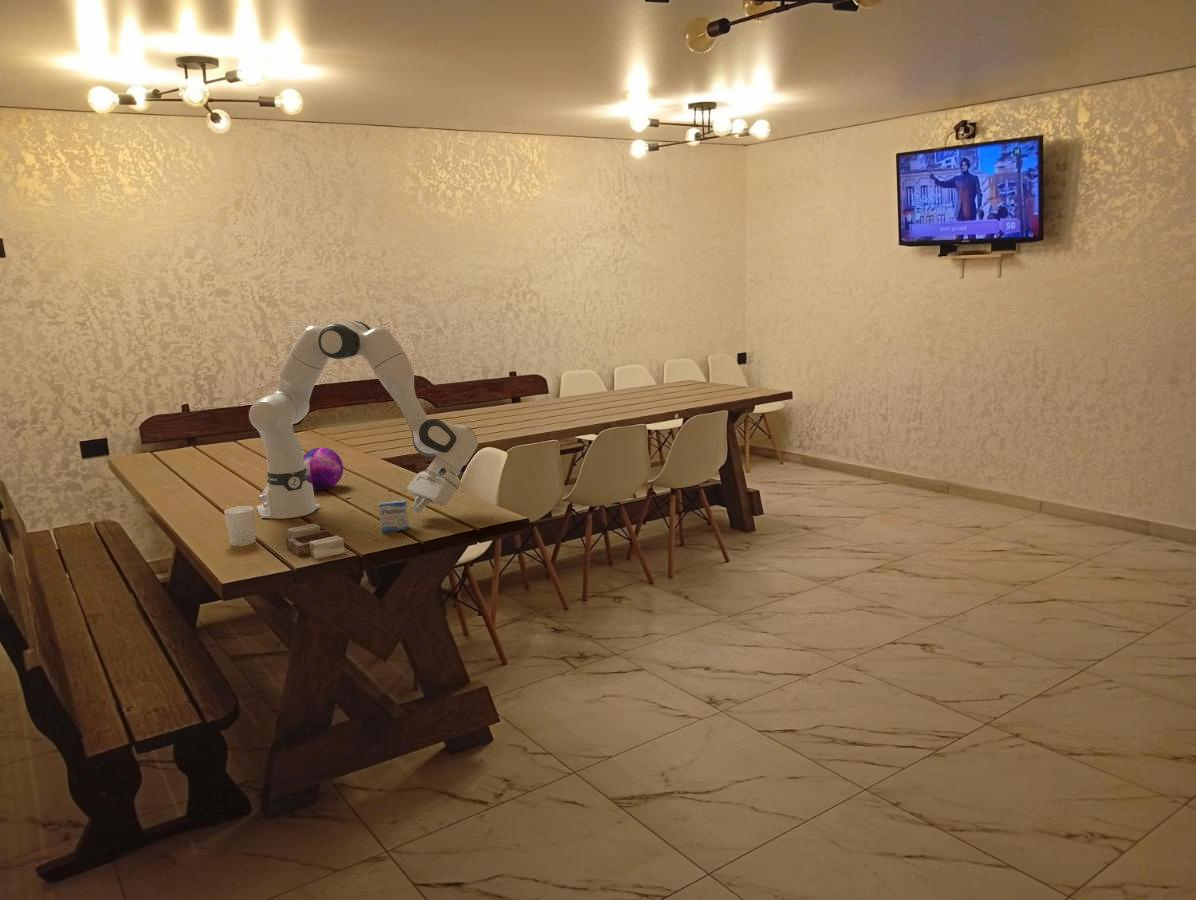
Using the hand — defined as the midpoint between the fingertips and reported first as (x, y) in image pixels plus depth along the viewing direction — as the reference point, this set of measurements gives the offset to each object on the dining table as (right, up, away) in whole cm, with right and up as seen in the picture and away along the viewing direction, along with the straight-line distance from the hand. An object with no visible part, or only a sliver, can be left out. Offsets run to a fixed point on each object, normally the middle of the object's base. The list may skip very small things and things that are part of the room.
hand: (414, 510), depth 271 cm
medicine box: (-5, -6, -3) cm, 8 cm away
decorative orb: (-43, +4, +50) cm, 66 cm away
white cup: (-47, -9, -11) cm, 49 cm away
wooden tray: (-24, -9, -18) cm, 31 cm away
